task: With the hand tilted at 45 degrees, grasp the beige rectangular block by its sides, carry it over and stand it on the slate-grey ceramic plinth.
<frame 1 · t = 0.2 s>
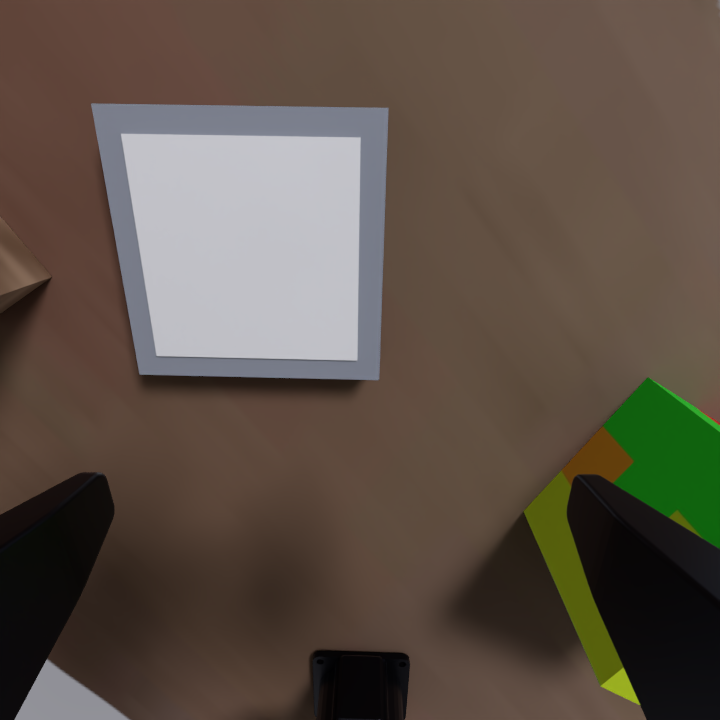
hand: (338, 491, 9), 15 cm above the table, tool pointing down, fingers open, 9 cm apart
plinth: (262, 246, 22), on the table
puzzle toy: (647, 485, 27), on the table
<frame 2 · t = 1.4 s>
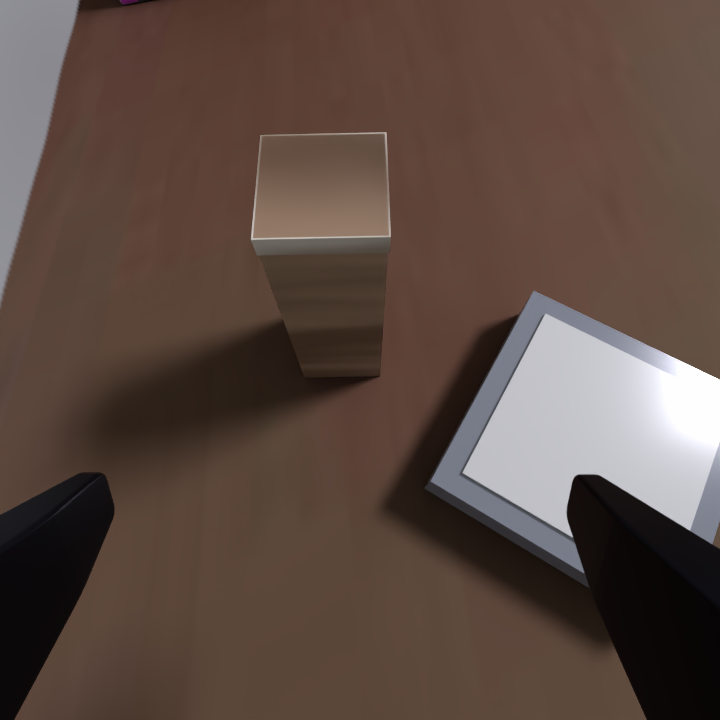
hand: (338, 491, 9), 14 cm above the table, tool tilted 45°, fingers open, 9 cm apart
beige rectangular block: (342, 342, 26), on the table
plinth: (575, 449, 23), on the table
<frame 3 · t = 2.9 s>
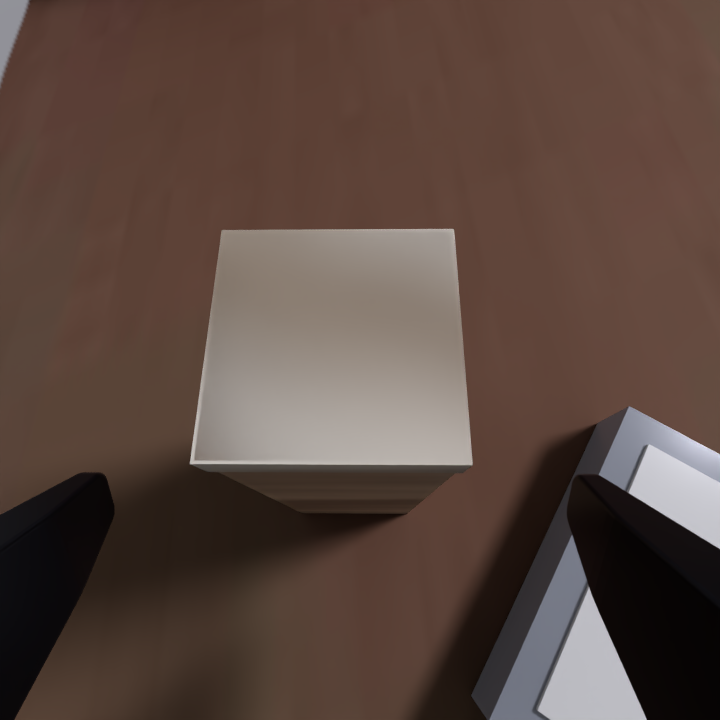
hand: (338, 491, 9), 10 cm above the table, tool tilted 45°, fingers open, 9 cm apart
beige rectangular block: (354, 460, 19), on the table
plinth: (687, 638, 16), on the table
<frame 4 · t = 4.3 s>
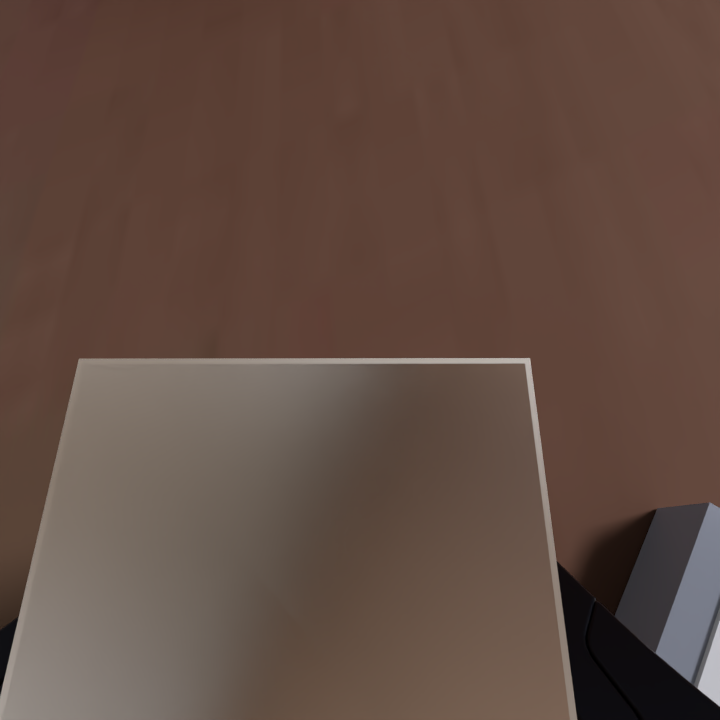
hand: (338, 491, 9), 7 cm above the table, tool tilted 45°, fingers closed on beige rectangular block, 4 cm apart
beige rectangular block: (350, 558, 15), on the table, touching gripper
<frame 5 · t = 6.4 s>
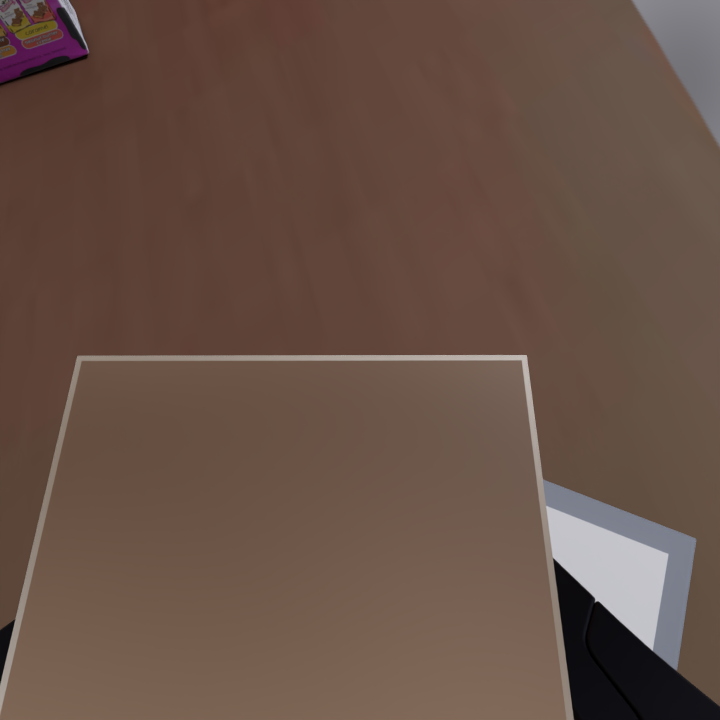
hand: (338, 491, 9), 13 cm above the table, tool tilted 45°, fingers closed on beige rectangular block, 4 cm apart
beige rectangular block: (349, 556, 15), point 7 cm above the table, touching gripper
plinth: (506, 615, 20), on the table
candy bar box: (7, 61, 33), on the table
when the fingers open (10 cm above the table, at t = 8.2 s): beige rectangular block stays where it is, resting on plinth.
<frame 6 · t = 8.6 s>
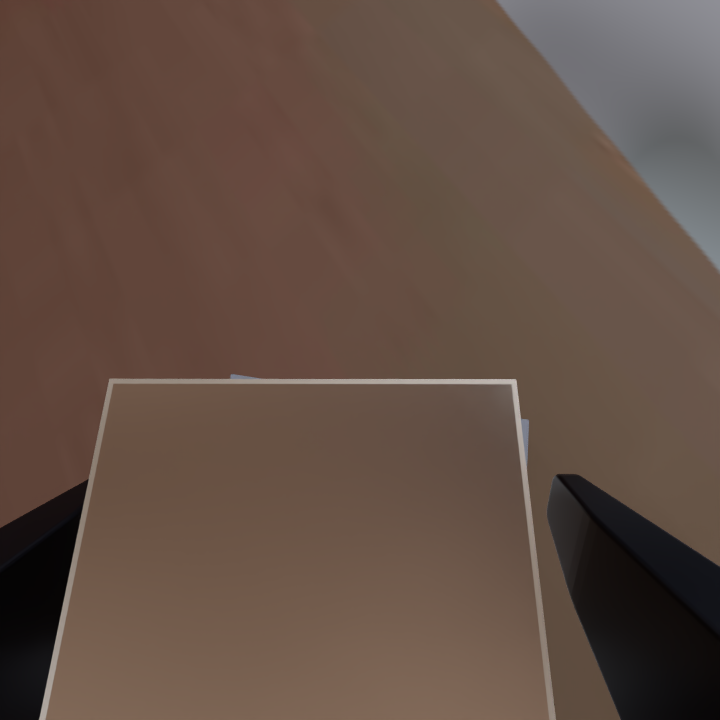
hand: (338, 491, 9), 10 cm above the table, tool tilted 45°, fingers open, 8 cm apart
beige rectangular block: (350, 557, 15), point 3 cm above the table, touching plinth
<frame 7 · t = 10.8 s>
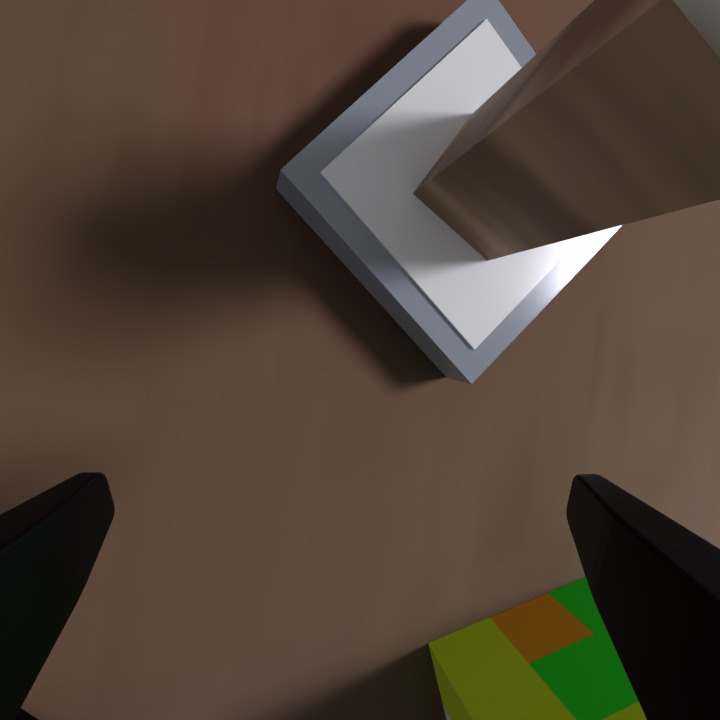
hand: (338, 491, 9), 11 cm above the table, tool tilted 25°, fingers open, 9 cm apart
beige rectangular block: (480, 188, 19), point 3 cm above the table, touching plinth
plinth: (451, 204, 21), on the table
puzzle toy: (534, 688, 24), on the table
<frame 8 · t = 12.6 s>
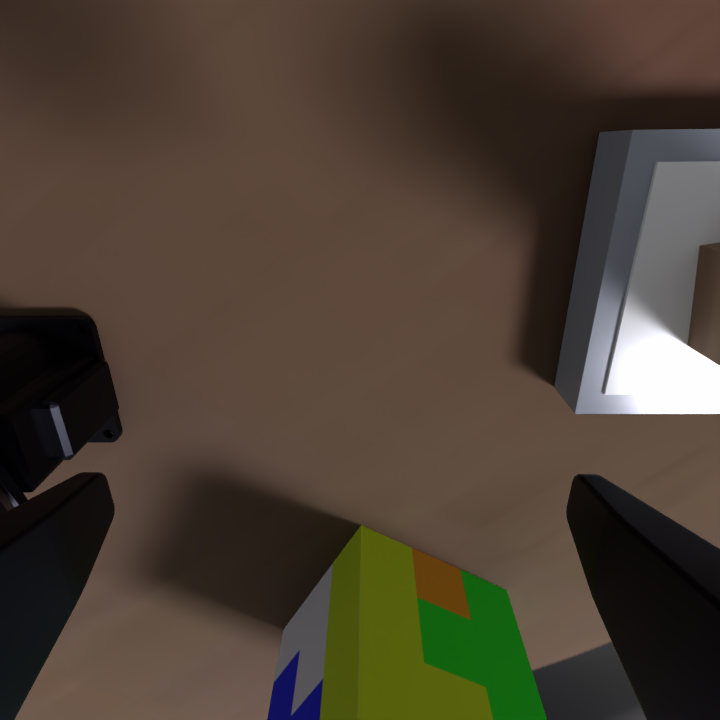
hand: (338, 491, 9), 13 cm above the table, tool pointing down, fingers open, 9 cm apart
plinth: (703, 272, 20), on the table
puzzle toy: (391, 606, 29), on the table
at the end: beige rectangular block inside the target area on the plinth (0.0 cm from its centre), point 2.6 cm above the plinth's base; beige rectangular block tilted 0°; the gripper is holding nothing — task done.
